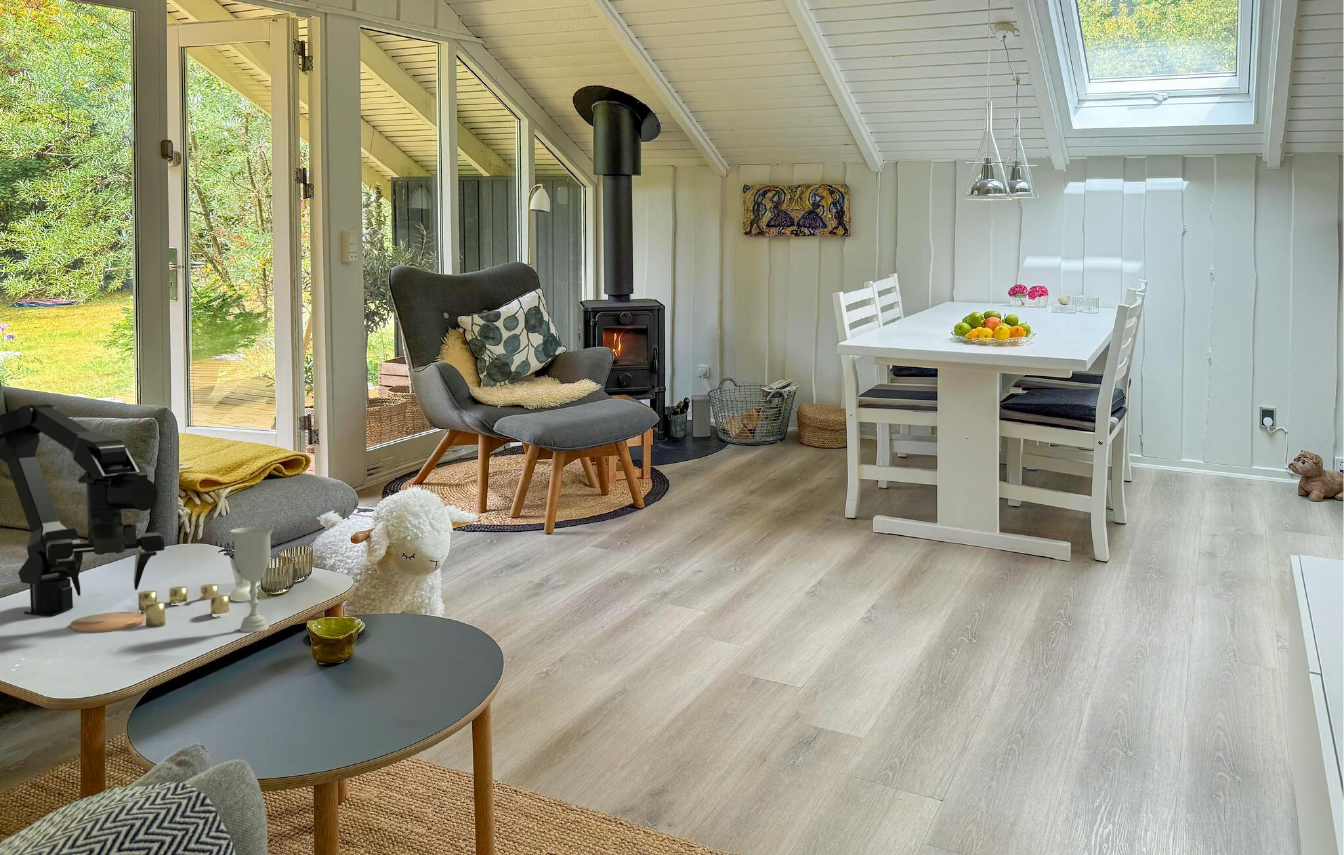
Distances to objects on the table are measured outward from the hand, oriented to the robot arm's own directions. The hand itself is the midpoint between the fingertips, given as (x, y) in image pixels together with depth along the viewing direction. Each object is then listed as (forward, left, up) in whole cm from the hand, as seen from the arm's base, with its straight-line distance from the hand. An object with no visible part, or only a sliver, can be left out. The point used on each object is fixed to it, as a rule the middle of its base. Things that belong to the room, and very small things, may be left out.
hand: (107, 592), depth 193 cm
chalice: (+28, +3, -6) cm, 29 cm away
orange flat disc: (0, 0, -6) cm, 6 cm away
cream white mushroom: (+16, +19, -6) cm, 25 cm away
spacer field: (+9, +9, -6) cm, 14 cm away
